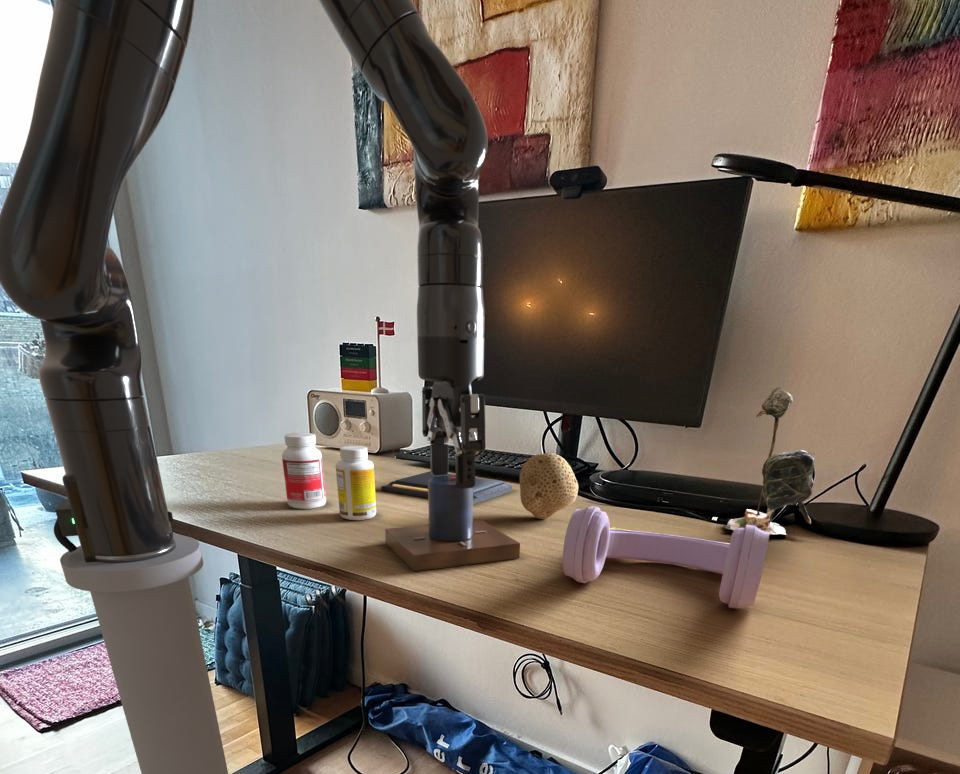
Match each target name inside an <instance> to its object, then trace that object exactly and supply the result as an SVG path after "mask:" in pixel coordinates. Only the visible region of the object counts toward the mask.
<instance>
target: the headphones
mask: <svg viewBox="0 0 960 774" xmlns="http://www.w3.org/2000/svg"><path fill="white" fill-rule="evenodd" d="M769 540H770V535H769V533H767V532H764V531H762V530H760V529H758V528H757V527H756V526H752V525H746V528H738V529H736V530H733V531H732V533H731V536H730V540H729V542H723V541H716V540H710V539H703V538H695V537H688V536H681V535H675V534H668V533H659V532H658V533H657V532H649V531H639V530H632V529H631V530H630V529H626V528H619V527H611V524H610V518H609V516H608V514H607V512H606V511H603V510H601V508H600V507H599V506H588V507H586V508H583V509H582V508H581V509H578V508H577V509H576V510H574V511H573V513H572V514H571V517H570V519H569V522H568V524H567V528H566V532H565V536H564V541H563V542H564V543H563V548H562V570H563V573H564V575H565V576H566V577H570V578H571V579H573V580H574V581H575V582H577V583H581V584H587V583H588V582H593V581H595V580H597V578H598V577H599V576H600V574H601V572H602V570H603V568H604V565H605V561H606V559H621V560H623V559H624V560H637V561H646V562H654V563H663V564H670V565H676V566H683V567H687V568H694V569H698V570H703V571H708V572H713V573H716V574H721V575H722V576H721V582H720V585H719V591H718V592H719V593H718V597H719V600H720V602H722V603H724V604H727V605H728V608H729V609H740V608H743V607H753V606H755V605H754V604H755V601H756V598H757V594H758V591H759V587H760V583H761V578H762V574H763V571H764V570H763V569H764V565H765V561H766V557H767V551H768V545H769Z"/></svg>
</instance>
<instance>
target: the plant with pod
mask: <svg viewBox="0 0 960 774" xmlns="http://www.w3.org/2000/svg"><path fill="white" fill-rule="evenodd" d="M793 401H794V397H793V395H792V394H790V392H788V391H786V390H785V389H783V388H782V387H780V386H777V387H774V388H773V389H772V390H771V392H770V393H769V394H768V396H767V397H766V398H765V399H764V401H763V402H762V404H761V410H760V411H759V412H758V413H757V414H756V418H758V419H759V418H761V417H762V415H766V416H772V417H773V418H774V421H773V422H774V423H773V431H772V434H773V435H772V439H771V445H770V449H769V453H768V457H767V459H766V460H765V461H764V463H763V466H762V469H761V475H762V477H763V478H762V487H761V492H760V496H759V501H758V506H757V510H754V509H748V508H747V509H746V510H745V511H744V516H743V517H742V516H741V517H739V518H728V521H727V523H726V524H727V525H726V526H725V527H724V528H725V529H727V530H732V531H735V530H736V529H738V528H746V525H752V526H756V527H757V528H758V529H760V530H762V531H764V532H767V533H769V536H776V535H779V536H787V533H786V531H787V530H786V529H785V527H783V526H782V525H781V524H779V523H777V522H772V519H773V516H774V514H775V512H776V510H778V509H781V508H784V507H786V506H788V505H790V506H795V505H796V504H797V505H798V508H799V510H800V512H801V515H802V516H803V517H804V520H805V521H806V523H807V524H808V525H811V524H812V519H811V518H810V516H809V513H808V511H807V508H806V506H805V504H804V502H805V501H807V500H809V499H810V498H811V496H812V495H813V487H814V480H813V474H814V471H815V458H814V455H815V453H810V452H808V451H806V450H803V449H799V450H797V449H796V450H791V451H785V452H780V453H778V454H773V452H774V448H775V444H776V436H777V431H778V427H779V422H780V419H781V418H782V417H784V416H785V415H786V413H787V412H788V410H789V408H790V406H791V405H792V404H793ZM763 499H764V501H765V503H766V508H767V510H766V513H764V512H761V511H759V510H760V507H761V505H762V501H763Z"/></svg>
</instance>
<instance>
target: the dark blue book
mask: <svg viewBox="0 0 960 774" xmlns="http://www.w3.org/2000/svg"><path fill="white" fill-rule="evenodd" d="M439 476H456V474H455V473H454V474H453V473H447V474H446V475H434V474H432V473H431V470H430V471H426V472H422V473H418V474H413V475H410V476H407V477H403V478H400V479H399V478H398V479H396V480H392V481H391V482H389V483H388V484H384V485H381V486H380V489H381V491H382V492H388V493H394V494H400V495H407V496H412V497H418V498H426V499H428V480H429V479H430V478H433V477H439ZM510 492H513V485H511V484H508V483H506V482H503V481H502V480H497V479H491V478H485V477H484V478H482V477H476V476H475V486H474V487H473V506H475V505H476V504H480V503H483V502H486V501H488V500H491V499H494V498H497V497H499V496H502V495H506V494H508V493H510Z"/></svg>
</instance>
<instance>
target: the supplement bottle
mask: <svg viewBox="0 0 960 774" xmlns="http://www.w3.org/2000/svg"><path fill="white" fill-rule="evenodd" d="M339 456H340V460H338V461H337V462H336V463H335V475H336V487H337V498H338V507H339V508H338V509H339V510H338V511H339V515H340V516H341V518H343V519H346V520H350V521H364V520H369V519H372V518H374V517H376V515H377V499H376V498H377V497H376V484H375V467H374V463H373V461H371V460H369V458H368V457H369V454H368V447H366V446H362V445H347V446H341V447H340V448H339Z"/></svg>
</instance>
